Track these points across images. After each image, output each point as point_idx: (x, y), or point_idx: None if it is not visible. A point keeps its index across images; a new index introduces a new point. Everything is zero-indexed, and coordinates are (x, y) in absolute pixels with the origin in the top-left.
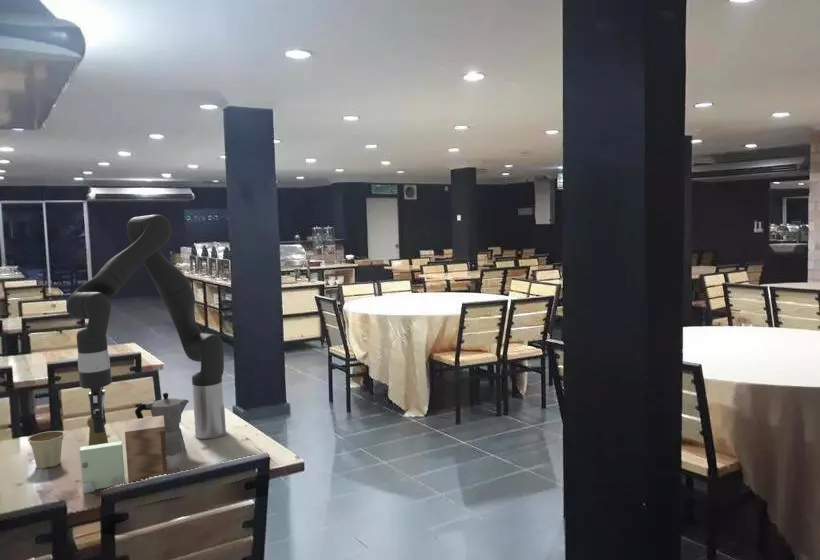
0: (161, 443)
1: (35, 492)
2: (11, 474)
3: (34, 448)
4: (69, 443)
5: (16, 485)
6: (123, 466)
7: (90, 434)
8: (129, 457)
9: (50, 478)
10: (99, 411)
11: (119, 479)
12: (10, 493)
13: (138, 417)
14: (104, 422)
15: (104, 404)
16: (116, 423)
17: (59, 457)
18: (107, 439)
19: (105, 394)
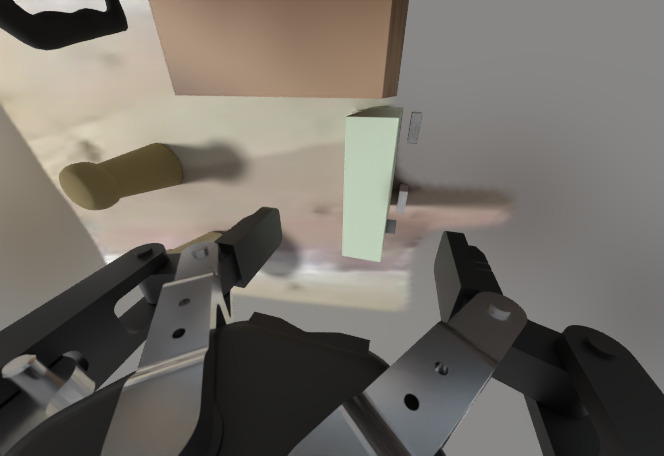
0: None
1: (345, 274)
2: (249, 291)
3: None
4: (128, 212)
5: (298, 291)
6: (384, 110)
7: (136, 193)
8: (393, 85)
9: (287, 250)
10: (244, 264)
11: (419, 123)
12: (330, 300)
13: (74, 36)
14: (277, 210)
15: (415, 357)
16: (19, 126)
17: (214, 239)
18: (135, 151)
19: (202, 402)
